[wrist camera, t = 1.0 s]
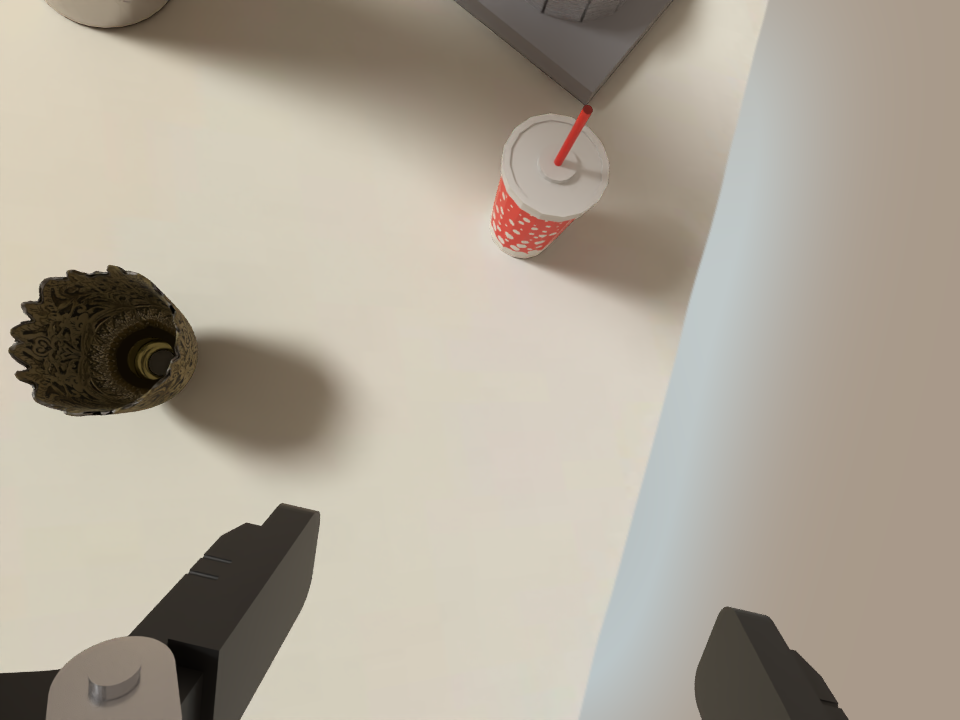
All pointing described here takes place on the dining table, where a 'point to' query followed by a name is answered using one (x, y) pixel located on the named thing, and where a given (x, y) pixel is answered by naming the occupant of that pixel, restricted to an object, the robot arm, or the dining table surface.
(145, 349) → the cup
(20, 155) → the dining table surface
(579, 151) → the beverage cup
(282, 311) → the dining table surface
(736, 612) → the robot arm
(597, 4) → the collar
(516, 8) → the flange board
